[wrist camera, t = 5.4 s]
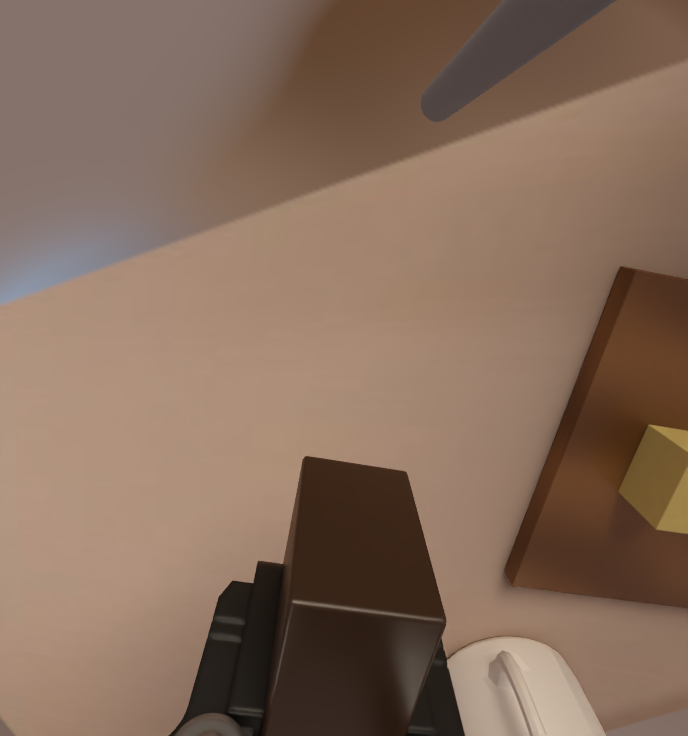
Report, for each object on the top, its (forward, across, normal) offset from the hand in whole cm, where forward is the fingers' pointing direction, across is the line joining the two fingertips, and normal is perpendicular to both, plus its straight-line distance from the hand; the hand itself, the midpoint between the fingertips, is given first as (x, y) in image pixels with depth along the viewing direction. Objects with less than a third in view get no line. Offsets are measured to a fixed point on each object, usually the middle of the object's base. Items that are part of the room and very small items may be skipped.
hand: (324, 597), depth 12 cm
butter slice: (+11, -17, 0) cm, 20 cm away
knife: (0, 0, +6) cm, 6 cm away
